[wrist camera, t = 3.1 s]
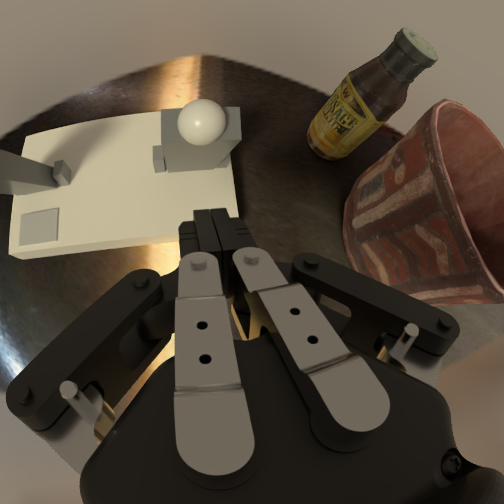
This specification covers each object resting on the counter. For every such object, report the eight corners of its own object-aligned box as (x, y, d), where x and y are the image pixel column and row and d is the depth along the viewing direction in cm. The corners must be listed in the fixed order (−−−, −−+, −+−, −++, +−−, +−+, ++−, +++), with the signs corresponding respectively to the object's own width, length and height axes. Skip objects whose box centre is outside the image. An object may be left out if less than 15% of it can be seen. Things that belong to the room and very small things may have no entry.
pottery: (435, 219, 36) (526, 175, 19) (413, 331, 31) (532, 326, 14) (343, 155, 34) (427, 68, 17) (300, 276, 30) (425, 229, 12)
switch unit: (234, 236, 29) (245, 219, 24) (22, 259, 23) (-4, 248, 18) (220, 123, 31) (227, 94, 26) (35, 148, 25) (18, 125, 20)
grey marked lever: (57, 191, 22) (-24, 180, 9) (24, 198, 21) (-61, 195, 8) (57, 165, 22) (-21, 137, 9) (24, 173, 21) (-59, 156, 8)
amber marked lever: (214, 172, 26) (249, 137, 13) (168, 175, 25) (159, 142, 12) (212, 146, 26) (246, 91, 13) (167, 149, 25) (159, 94, 12)
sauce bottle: (297, 124, 34) (374, 6, 15) (337, 125, 35) (419, 26, 16) (313, 167, 33) (415, 54, 14) (353, 165, 34) (456, 73, 15)
